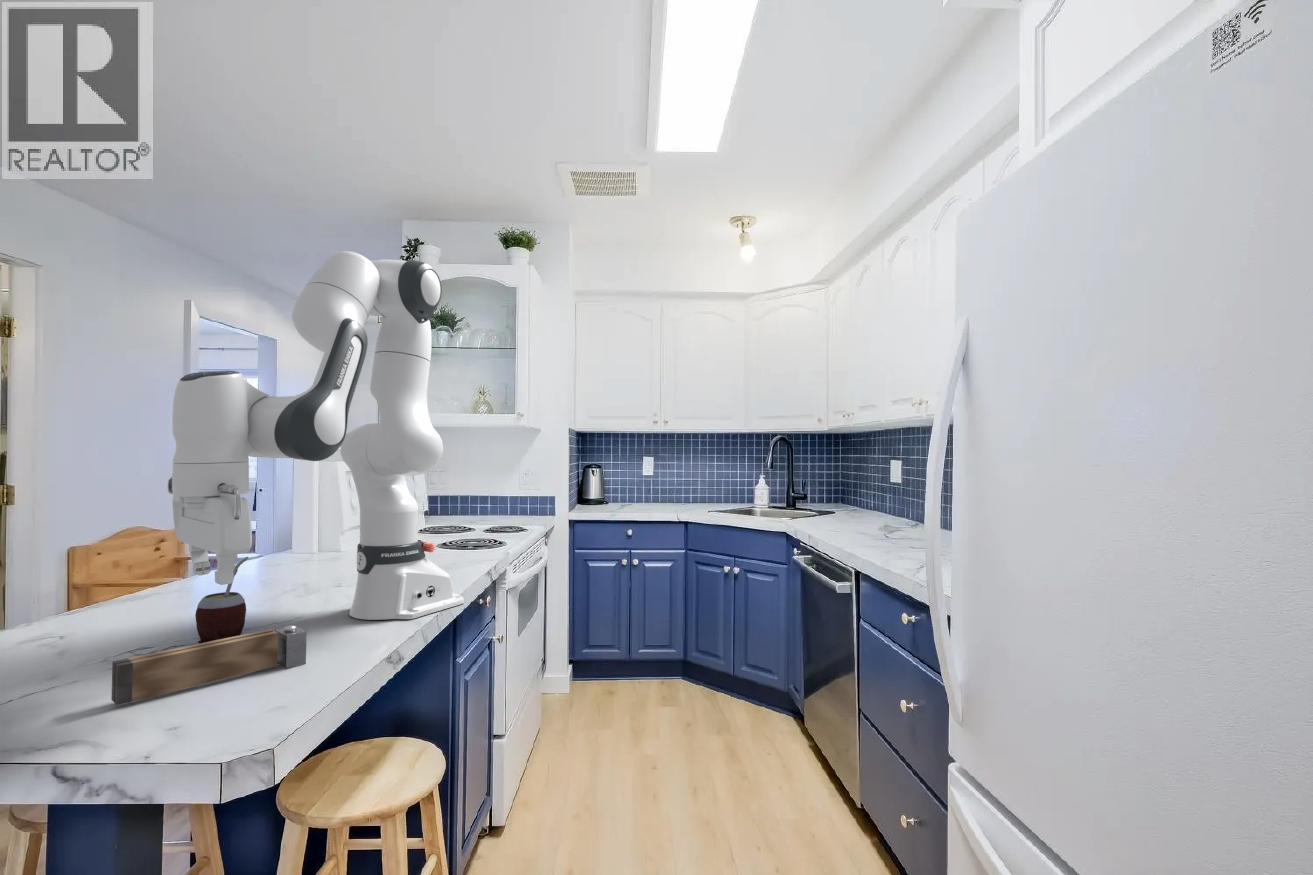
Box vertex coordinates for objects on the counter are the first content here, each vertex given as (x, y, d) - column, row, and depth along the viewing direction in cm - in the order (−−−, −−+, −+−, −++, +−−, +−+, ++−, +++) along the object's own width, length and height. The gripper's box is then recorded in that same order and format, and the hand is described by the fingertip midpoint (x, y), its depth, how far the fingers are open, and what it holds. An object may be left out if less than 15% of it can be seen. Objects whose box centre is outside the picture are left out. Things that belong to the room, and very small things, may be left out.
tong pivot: (292, 657, 97) (293, 622, 97) (305, 663, 94) (306, 627, 94) (273, 661, 95) (274, 625, 95) (286, 668, 92) (286, 631, 92)
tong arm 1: (269, 661, 94) (270, 628, 94) (272, 663, 93) (273, 630, 93) (111, 699, 79) (112, 661, 79) (113, 702, 78) (114, 663, 78)
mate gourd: (201, 638, 106) (203, 552, 107) (254, 633, 110) (256, 550, 110) (188, 651, 100) (191, 559, 100) (245, 645, 103) (248, 556, 103)
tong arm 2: (274, 663, 93) (274, 631, 93) (277, 665, 92) (278, 632, 92) (114, 702, 78) (115, 663, 78) (116, 705, 77) (117, 666, 77)
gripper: (265, 484, 83) (265, 585, 83) (214, 478, 95) (214, 566, 95) (210, 487, 78) (210, 594, 78) (163, 481, 90) (164, 573, 90)
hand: (212, 578), depth 87 cm, fingers open, 8 cm apart
